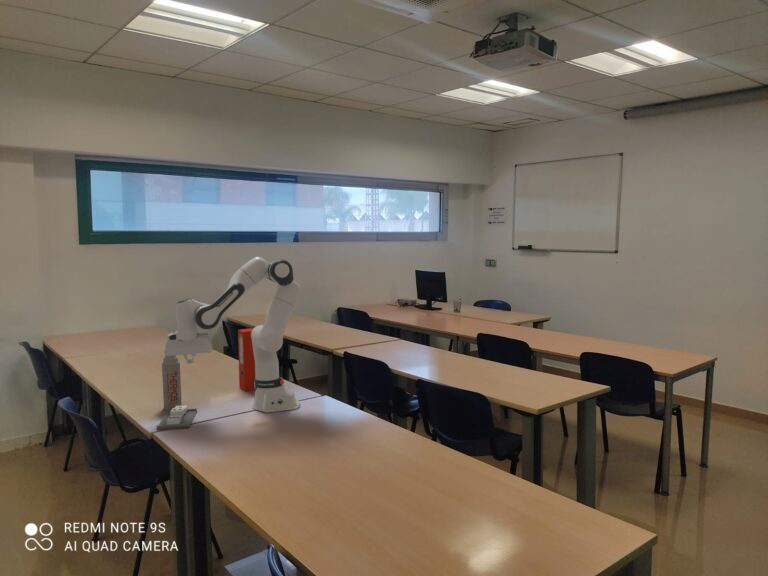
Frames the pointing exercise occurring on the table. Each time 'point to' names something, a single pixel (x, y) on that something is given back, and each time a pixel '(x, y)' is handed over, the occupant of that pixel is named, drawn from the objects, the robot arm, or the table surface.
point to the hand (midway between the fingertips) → (190, 363)
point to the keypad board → (184, 423)
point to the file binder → (246, 360)
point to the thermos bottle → (171, 382)
